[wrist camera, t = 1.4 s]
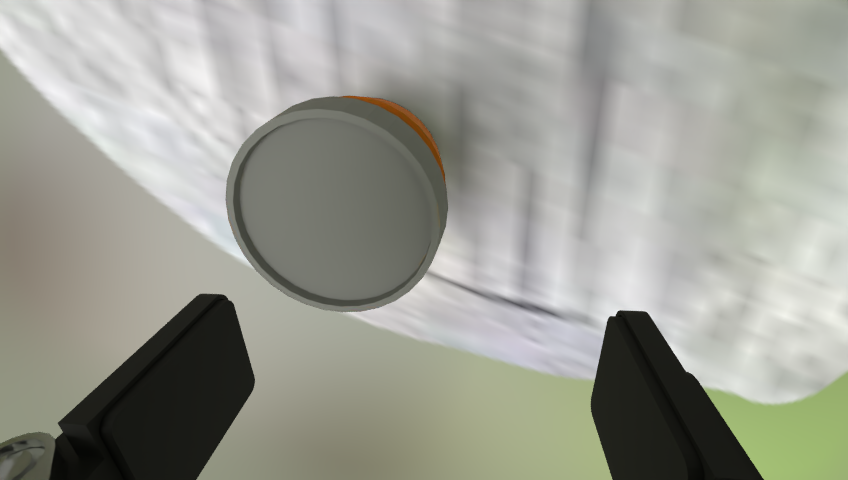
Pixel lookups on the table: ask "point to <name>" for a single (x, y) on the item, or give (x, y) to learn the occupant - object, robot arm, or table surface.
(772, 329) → the table surface
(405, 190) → the reusable coffee cup
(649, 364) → the robot arm
